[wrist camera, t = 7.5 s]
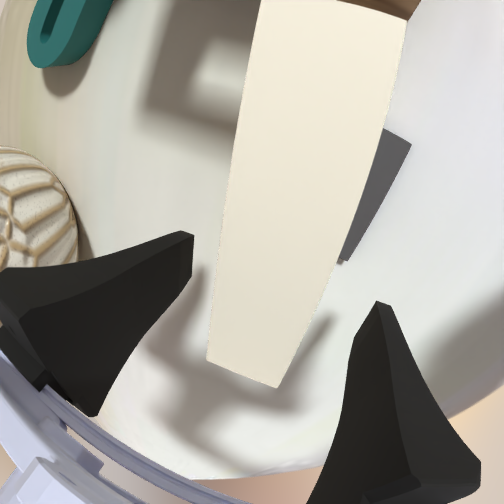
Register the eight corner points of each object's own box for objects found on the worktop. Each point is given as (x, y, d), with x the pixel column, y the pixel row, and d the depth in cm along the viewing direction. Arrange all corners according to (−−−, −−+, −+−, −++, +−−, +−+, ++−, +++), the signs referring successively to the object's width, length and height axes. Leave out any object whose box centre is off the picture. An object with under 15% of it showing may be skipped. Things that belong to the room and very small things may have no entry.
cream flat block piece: (384, 58, 8) (408, 21, 3) (307, 302, 15) (277, 388, 10) (306, 38, 8) (262, -10, 4) (252, 282, 15) (205, 360, 11)
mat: (409, 142, 10) (411, 144, 9) (348, 256, 13) (347, 261, 13) (297, 89, 10) (295, 89, 10) (253, 210, 14) (249, 214, 13)
